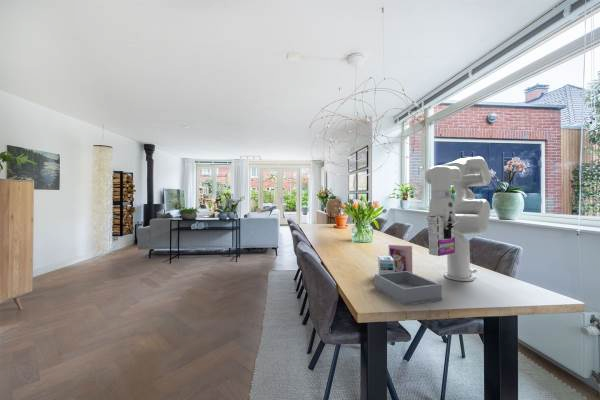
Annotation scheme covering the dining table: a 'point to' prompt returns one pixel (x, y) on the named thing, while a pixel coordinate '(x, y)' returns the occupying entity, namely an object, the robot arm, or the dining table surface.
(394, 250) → the pink printed box
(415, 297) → the tray
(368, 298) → the dining table surface
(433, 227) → the candy bar box
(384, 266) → the light bulb box
